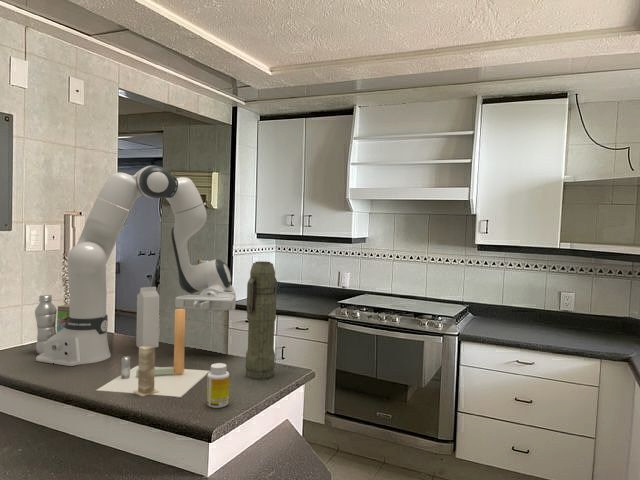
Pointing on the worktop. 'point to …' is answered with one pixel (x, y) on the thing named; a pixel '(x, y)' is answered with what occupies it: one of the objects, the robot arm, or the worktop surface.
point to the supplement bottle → (218, 386)
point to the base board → (159, 382)
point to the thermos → (261, 321)
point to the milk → (147, 317)
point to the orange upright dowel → (176, 346)
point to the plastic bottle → (45, 321)
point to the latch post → (146, 371)
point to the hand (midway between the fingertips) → (197, 306)
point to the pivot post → (125, 367)
